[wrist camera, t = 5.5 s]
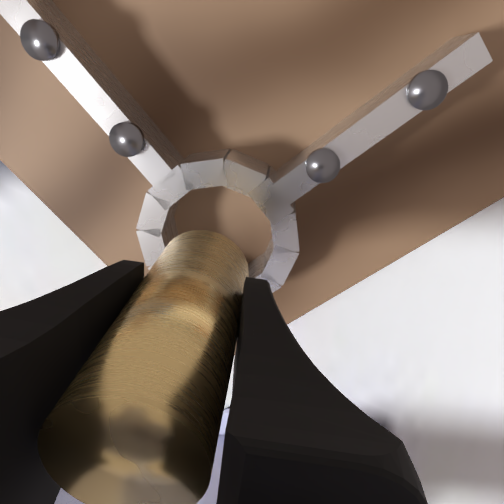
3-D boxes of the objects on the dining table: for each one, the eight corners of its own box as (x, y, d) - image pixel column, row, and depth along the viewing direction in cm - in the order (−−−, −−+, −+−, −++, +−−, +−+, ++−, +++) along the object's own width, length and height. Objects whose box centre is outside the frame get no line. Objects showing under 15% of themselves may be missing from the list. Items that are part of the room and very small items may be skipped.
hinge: (498, 124, 15) (532, 133, 13) (216, 307, 19) (208, 335, 17) (272, -306, 11) (269, -396, 9) (-19, 57, 15) (-66, 55, 13)
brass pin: (267, 281, 13) (246, 484, 7) (199, 323, 14) (125, 536, 7) (209, 212, 12) (120, 369, 6) (141, 262, 13) (2, 444, 7)
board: (598, 132, 15) (610, 134, 14) (213, 361, 21) (211, 368, 21) (297, -552, 9) (298, -591, 9) (-107, 40, 16) (-121, 39, 15)
